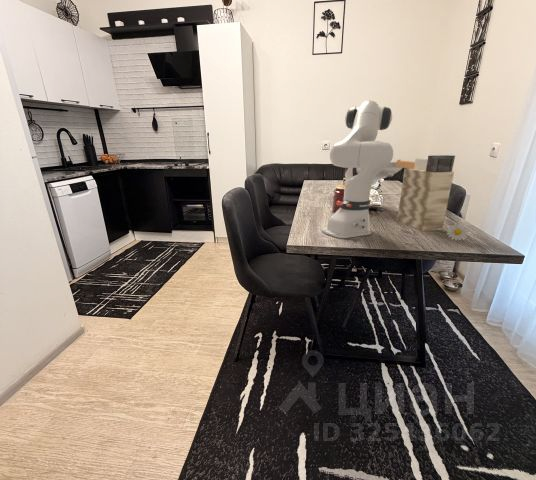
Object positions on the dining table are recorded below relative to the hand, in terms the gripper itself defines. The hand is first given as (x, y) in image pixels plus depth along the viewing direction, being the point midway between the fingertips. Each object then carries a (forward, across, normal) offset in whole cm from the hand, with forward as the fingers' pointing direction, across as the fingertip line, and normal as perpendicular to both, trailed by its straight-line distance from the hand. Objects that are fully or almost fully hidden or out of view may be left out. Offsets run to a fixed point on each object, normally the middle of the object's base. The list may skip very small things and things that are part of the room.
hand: (392, 161), depth 153 cm
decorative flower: (+25, 0, +47) cm, 53 cm away
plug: (+14, 0, +11) cm, 18 cm away
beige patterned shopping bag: (+10, 0, +38) cm, 39 cm away
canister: (-20, -23, +22) cm, 37 cm away
